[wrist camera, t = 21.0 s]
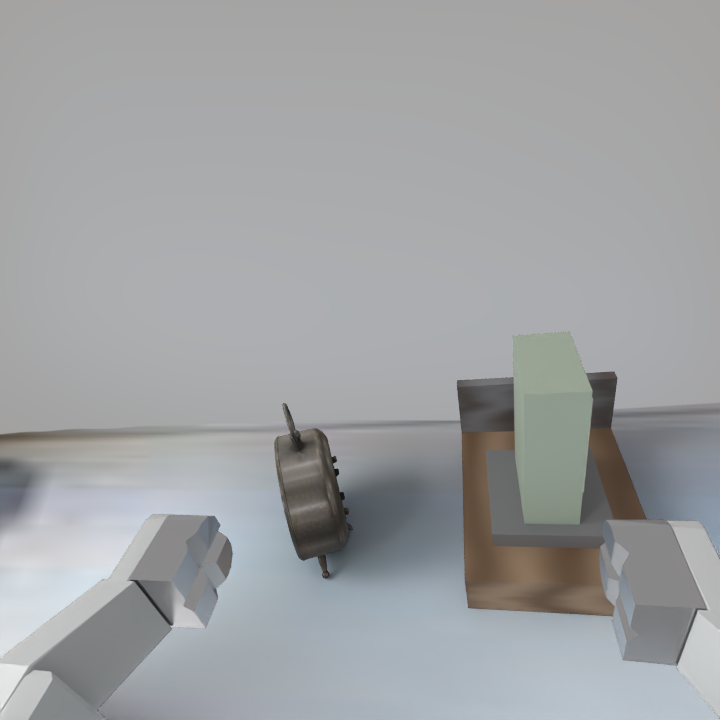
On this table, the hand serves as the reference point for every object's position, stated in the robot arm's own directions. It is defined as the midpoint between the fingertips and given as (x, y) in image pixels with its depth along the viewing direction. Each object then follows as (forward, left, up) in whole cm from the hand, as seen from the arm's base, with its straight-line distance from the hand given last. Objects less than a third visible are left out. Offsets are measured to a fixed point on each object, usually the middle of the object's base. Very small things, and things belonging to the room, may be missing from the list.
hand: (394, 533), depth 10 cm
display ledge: (+7, +23, -30) cm, 38 cm away
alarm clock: (-13, +21, -30) cm, 39 cm away
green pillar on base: (+7, +22, -26) cm, 35 cm away
